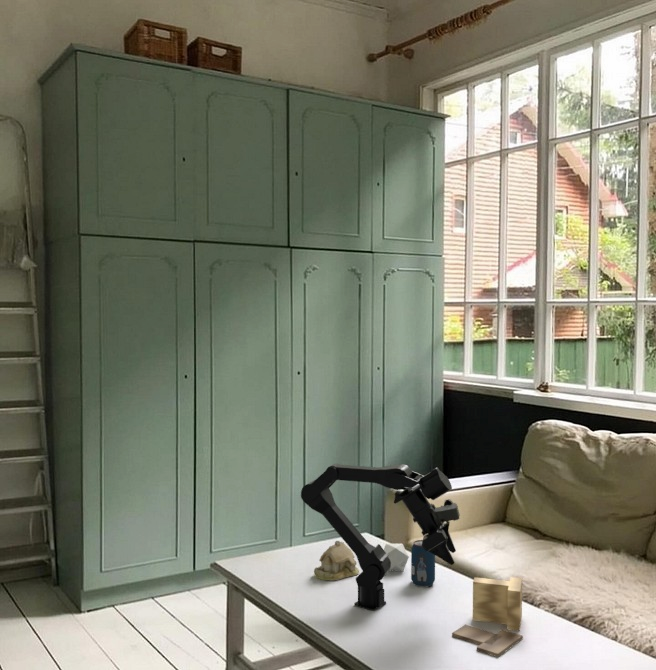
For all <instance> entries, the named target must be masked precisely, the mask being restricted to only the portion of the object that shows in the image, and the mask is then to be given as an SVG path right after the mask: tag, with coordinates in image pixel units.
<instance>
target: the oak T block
mask: <svg viewBox="0 0 656 670" xmlns="http://www.w3.org/2000/svg"><path fill="white" fill-rule="evenodd" d="M522 617H523V578H522V577H514V576H510V577H509V580H503V579H495V578H494V579H493V578H485V577H477V576H476V577H475V576H474V577H473V581H472V621H478V622H483V623H484V622H485V623H493V624H502V625H506V629H507V631H508V630H509V631H515V630H518V631H517V632H520V630H521V625H522Z"/></svg>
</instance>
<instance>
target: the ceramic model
mask: <svg viewBox="0 0 656 670" xmlns="http://www.w3.org/2000/svg"><path fill="white" fill-rule="evenodd" d="M319 562H321V565H320V566H318V567H315V568H314V569H313V573H314V574H313V575H314V577H315V578H317V579H320V580H323V581H338V580H341V579H344V578H347V577H353V576H357V575H360V570H359V569H358V567H356V565H357V563H358V562H357V561H356V560H355V554H354V552H353V551H352V550H351V548H350V547H349V546H348V545H347V544H346V543H345V541H344V542H343V541H340V540H336V541H334V544H332V545H330V546H328V548H327V549H326V550H325V551H324V552H323V553H322V555H321V556H320V558H319Z"/></svg>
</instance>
